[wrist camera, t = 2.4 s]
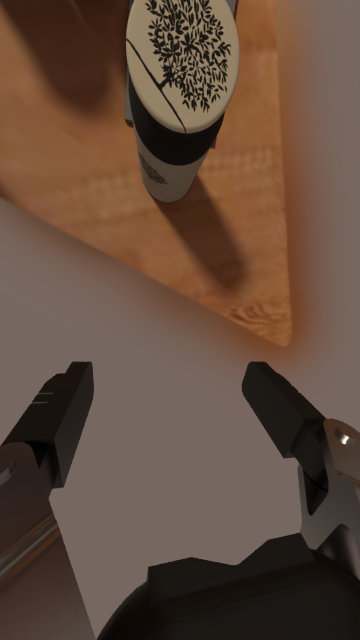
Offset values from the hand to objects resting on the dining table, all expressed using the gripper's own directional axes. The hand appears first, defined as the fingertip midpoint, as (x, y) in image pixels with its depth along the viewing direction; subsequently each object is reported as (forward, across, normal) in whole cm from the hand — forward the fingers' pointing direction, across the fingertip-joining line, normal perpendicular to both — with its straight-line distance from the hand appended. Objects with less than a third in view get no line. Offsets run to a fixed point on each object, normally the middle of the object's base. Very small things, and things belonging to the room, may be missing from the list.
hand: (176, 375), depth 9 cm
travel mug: (+28, +1, +16) cm, 32 cm away
